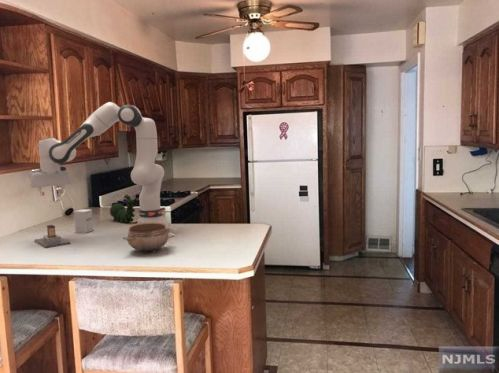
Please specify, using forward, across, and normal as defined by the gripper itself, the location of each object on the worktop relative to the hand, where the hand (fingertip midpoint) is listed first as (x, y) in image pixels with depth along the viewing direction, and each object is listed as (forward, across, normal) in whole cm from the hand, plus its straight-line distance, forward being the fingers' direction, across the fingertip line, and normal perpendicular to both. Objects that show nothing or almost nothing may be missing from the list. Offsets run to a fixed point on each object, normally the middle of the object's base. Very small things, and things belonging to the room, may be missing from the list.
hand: (51, 194), depth 229 cm
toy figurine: (+25, +47, +18) cm, 56 cm away
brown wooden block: (+24, -4, -6) cm, 25 cm away
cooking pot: (+25, +23, -60) cm, 69 cm away
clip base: (+25, -4, -6) cm, 26 cm away
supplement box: (+25, +18, +7) cm, 32 cm away
